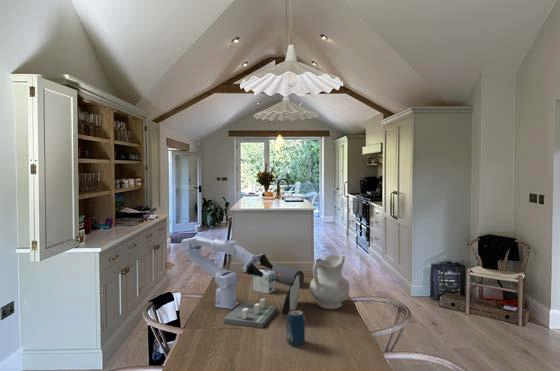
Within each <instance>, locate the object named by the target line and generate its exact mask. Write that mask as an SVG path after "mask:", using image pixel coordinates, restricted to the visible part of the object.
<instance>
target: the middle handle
mask: <svg viewBox="0 0 560 371" xmlns="http://www.w3.org/2000/svg"><path fill="white" fill-rule="evenodd" d="M260 312H261V304H260V302H257V303H255V304H254V313H255V314H259V313H260Z"/></svg>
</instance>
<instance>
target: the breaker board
mask: <svg viewBox="0 0 560 371" xmlns="http://www.w3.org/2000/svg"><path fill="white" fill-rule="evenodd" d="M254 305H255V304H254V303H253V304H251V303H243V302H242V303H239V304H238V305H237V306H235V307H234V308H233V310H231V312H229V313H228V314H227V315H226V316H224V318H223V324H228V325H237V326H244V327H250V328H251V327H252V328H259V329H264V327H265V326H266V324H267V323H268V322H269V321H270V320H271V319H272V318H273V316H274V315H275V314H276V313H277V311H278V306H270V305H266V306H265V307H264V308H261V312H260V313H259V314H255V313H254ZM244 308H249V317H248V318H247V319H242V310H243V309H244Z"/></svg>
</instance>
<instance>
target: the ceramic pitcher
mask: <svg viewBox="0 0 560 371" xmlns="http://www.w3.org/2000/svg"><path fill="white" fill-rule="evenodd" d="M345 259H346V256H345V255H341V258H340V256H338V255H335V254H329V255H327V256H326V257H325V258H324V259H321V258H317V259H316V260H314V261H315V262H314V264H313V265H312V276H313V278H312V279H311V281H310V283H309V290H310V293H311V295H312V297H313V298H314V299H315V300H316V301H317V302H318V305H317V306H318V307H319V308H323V309H324V310H325V309H326V310H336V309H340V307H342V306H343V305H344V304H343V302H344V301H345V300H346V299H347V298H348V297H349V294H350V289H351V287H350V282H349V281H348V280H347V279H346V278H345V277H343V274H342V269H343V268H344V265H345V262H346V260H345Z"/></svg>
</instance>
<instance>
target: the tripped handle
mask: <svg viewBox="0 0 560 371" xmlns="http://www.w3.org/2000/svg"><path fill="white" fill-rule="evenodd" d="M248 317H249V308H244V309H243V310H242V319H247V318H248Z"/></svg>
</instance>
